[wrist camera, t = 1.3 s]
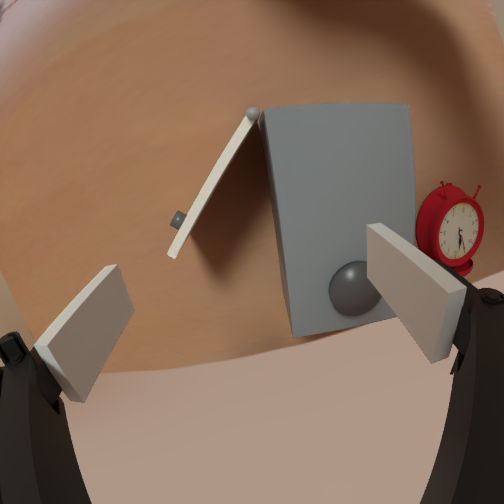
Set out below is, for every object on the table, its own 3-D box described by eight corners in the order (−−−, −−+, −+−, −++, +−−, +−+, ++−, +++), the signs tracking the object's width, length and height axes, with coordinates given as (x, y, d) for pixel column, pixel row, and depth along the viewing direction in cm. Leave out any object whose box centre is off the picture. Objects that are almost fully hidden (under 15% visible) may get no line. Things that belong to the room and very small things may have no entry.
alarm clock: (490, 184, 26) (485, 297, 28) (462, 185, 32) (460, 286, 34) (435, 178, 26) (431, 308, 28) (408, 181, 32) (407, 294, 34)
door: (240, 110, 26) (237, 97, 19) (258, 120, 27) (262, 111, 19) (175, 222, 31) (152, 250, 23) (192, 232, 31) (174, 262, 23)
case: (258, 119, 27) (263, 107, 18) (366, 111, 27) (414, 102, 17) (282, 292, 34) (294, 344, 25) (375, 276, 34) (410, 319, 25)
